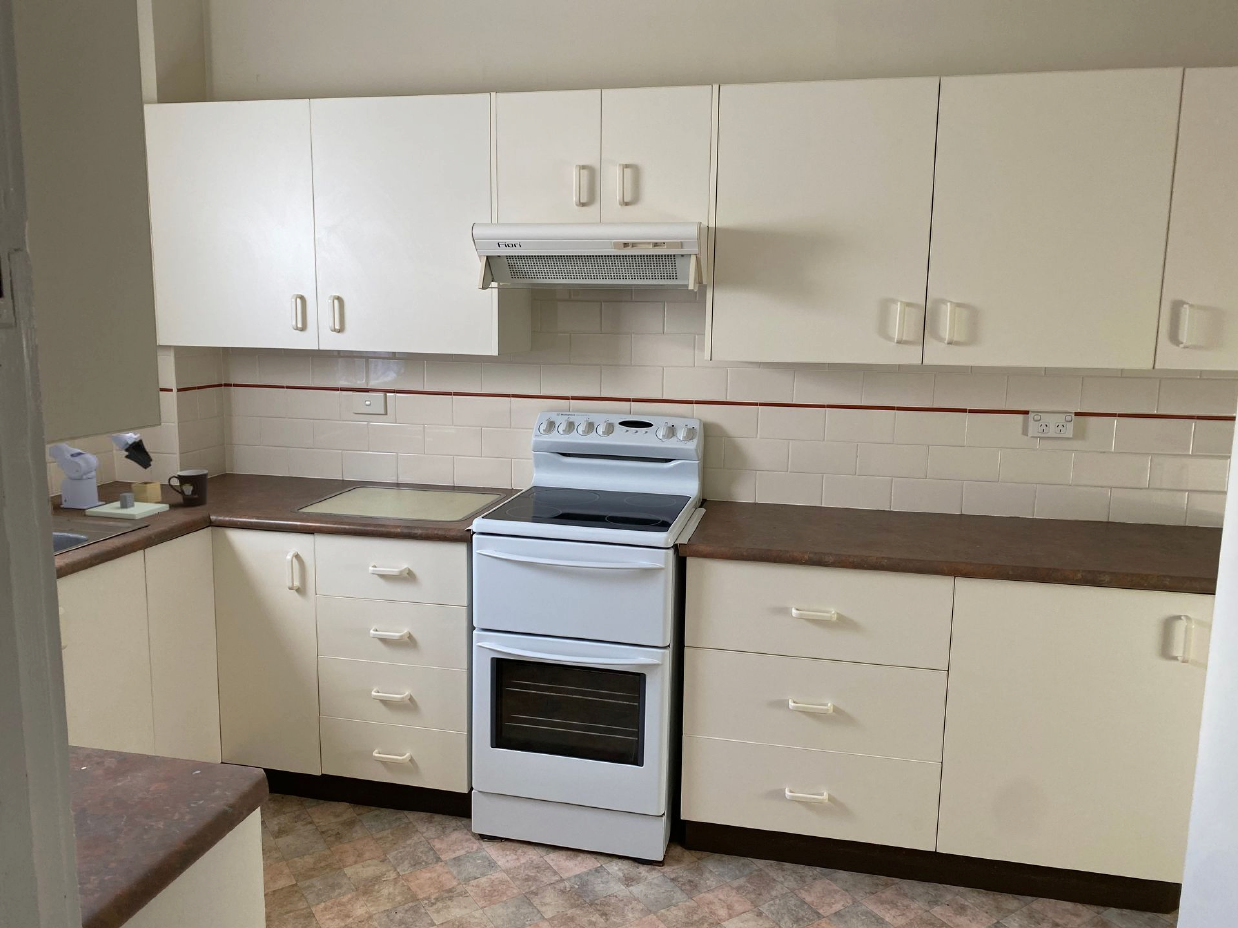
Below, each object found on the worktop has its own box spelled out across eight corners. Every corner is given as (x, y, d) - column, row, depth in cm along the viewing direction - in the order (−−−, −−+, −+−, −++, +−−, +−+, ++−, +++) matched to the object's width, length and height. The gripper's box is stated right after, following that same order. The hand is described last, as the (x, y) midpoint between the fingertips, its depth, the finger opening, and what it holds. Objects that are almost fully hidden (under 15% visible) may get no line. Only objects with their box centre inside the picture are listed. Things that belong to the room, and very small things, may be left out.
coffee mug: (216, 503, 292) (213, 471, 290) (191, 508, 285) (188, 476, 283) (192, 499, 298) (190, 467, 296) (167, 504, 290) (164, 472, 289)
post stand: (85, 515, 276) (83, 496, 275) (120, 505, 289) (118, 488, 288) (135, 519, 271) (134, 500, 270) (169, 509, 283) (167, 491, 282)
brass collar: (133, 503, 292) (131, 484, 291) (146, 499, 297) (145, 480, 296) (148, 504, 290) (146, 485, 289) (161, 500, 295) (159, 481, 294)
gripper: (128, 417, 280) (161, 452, 283) (127, 428, 293) (158, 461, 295) (108, 432, 277) (141, 467, 280) (107, 442, 290) (139, 475, 292)
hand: (149, 465), depth 287 cm, fingers open, 7 cm apart
